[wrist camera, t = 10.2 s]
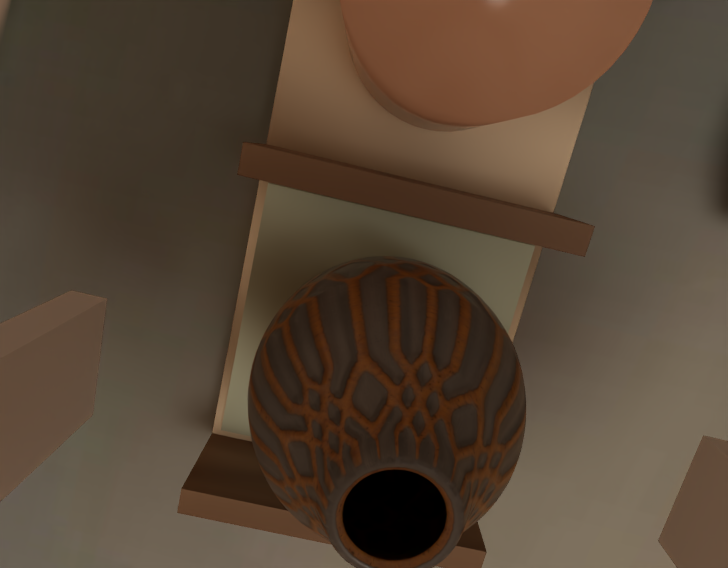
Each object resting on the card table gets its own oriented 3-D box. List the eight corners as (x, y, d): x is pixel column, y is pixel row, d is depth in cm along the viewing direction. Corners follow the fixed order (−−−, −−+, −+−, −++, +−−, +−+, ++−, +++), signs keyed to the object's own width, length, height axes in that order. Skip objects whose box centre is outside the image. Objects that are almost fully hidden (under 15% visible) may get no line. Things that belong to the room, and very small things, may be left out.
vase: (296, 216, 17) (225, 282, 8) (514, 265, 17) (659, 376, 9) (257, 418, 18) (163, 646, 10) (457, 459, 19) (533, 714, 10)
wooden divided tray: (339, -206, 16) (329, -342, 11) (643, -123, 16) (744, -223, 12) (217, 436, 20) (177, 512, 16) (455, 487, 21) (478, 574, 16)
